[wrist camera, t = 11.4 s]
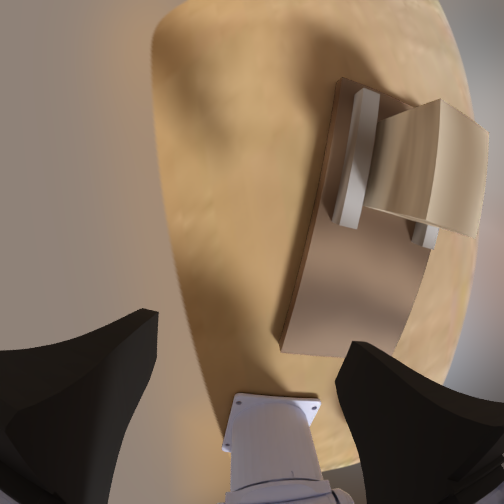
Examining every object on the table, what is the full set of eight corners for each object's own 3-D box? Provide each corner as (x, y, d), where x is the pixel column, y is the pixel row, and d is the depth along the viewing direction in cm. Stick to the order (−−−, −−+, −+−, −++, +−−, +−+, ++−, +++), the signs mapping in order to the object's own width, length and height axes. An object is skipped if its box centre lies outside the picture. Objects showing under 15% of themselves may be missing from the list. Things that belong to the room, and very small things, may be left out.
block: (421, 141, 16) (488, 132, 9) (408, 219, 17) (475, 239, 10) (377, 122, 16) (440, 98, 9) (362, 205, 17) (425, 220, 10)
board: (384, 351, 21) (397, 368, 19) (278, 343, 20) (283, 364, 18) (441, 129, 17) (462, 125, 14) (336, 82, 16) (350, 69, 13)
